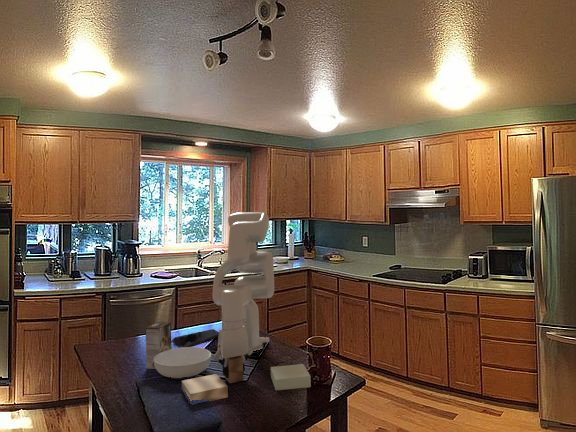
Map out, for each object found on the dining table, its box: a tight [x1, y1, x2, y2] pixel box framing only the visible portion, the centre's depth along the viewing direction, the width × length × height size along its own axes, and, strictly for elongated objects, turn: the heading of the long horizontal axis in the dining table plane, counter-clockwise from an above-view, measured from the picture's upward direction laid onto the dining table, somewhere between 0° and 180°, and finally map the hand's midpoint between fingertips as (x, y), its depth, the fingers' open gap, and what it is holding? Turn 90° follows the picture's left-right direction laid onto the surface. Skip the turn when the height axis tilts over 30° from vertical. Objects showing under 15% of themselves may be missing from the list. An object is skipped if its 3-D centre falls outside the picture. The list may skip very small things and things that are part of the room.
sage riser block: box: [270, 363, 312, 391], centre depth 146 cm, size 12×12×4 cm
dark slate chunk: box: [171, 328, 219, 347], centre depth 198 cm, size 15×22×5 cm
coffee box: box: [144, 321, 173, 370], centre depth 165 cm, size 9×6×16 cm
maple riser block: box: [181, 373, 229, 402], centre depth 137 cm, size 12×12×4 cm
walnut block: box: [224, 356, 244, 384], centre depth 148 cm, size 5×5×8 cm
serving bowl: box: [153, 346, 212, 379], centre depth 155 cm, size 21×21×7 cm
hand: (233, 374), depth 148 cm, fingers closed on walnut block, 5 cm apart
